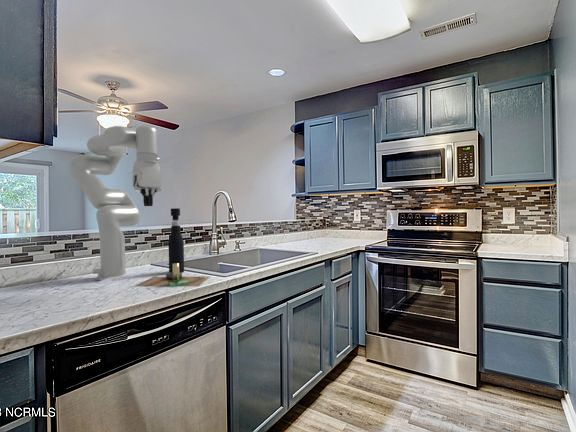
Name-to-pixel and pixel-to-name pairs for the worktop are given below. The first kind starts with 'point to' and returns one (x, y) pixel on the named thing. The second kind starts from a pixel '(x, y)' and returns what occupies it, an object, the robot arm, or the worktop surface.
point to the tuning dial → (174, 273)
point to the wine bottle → (176, 243)
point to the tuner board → (182, 281)
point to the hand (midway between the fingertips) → (148, 206)
